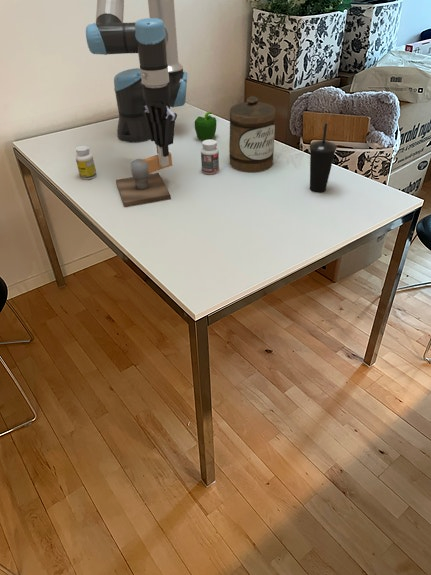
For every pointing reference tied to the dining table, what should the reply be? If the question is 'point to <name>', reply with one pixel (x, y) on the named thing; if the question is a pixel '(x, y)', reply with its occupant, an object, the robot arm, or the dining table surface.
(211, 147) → the pill bottle
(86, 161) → the supplement bottle
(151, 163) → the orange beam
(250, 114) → the wooden container
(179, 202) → the dining table surface
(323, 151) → the drinking cup
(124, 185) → the base
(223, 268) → the dining table surface
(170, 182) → the dining table surface
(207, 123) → the bell pepper
